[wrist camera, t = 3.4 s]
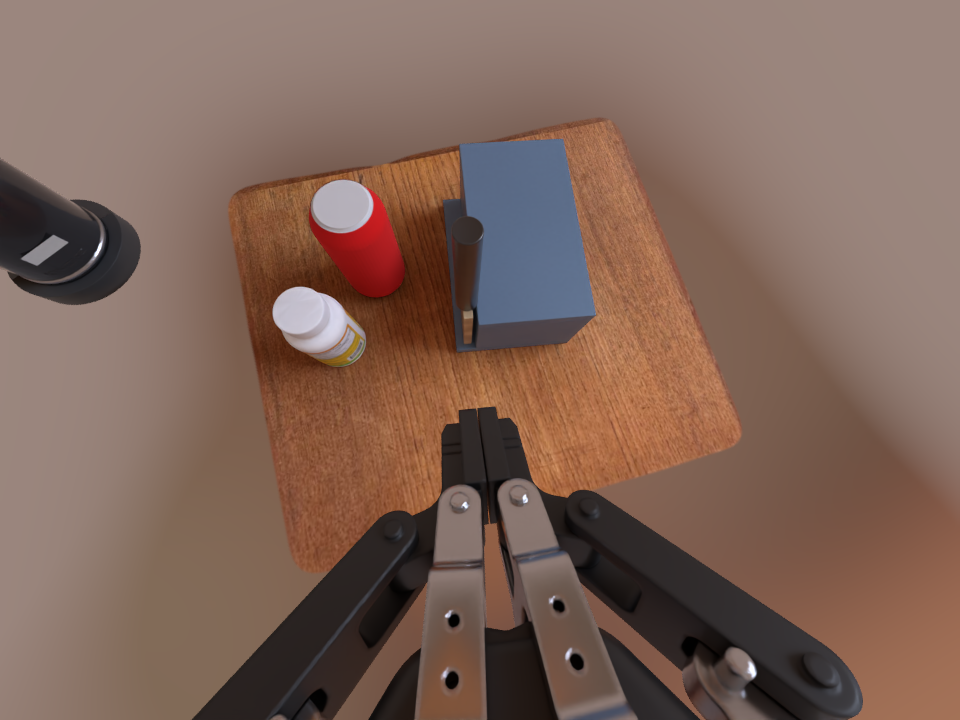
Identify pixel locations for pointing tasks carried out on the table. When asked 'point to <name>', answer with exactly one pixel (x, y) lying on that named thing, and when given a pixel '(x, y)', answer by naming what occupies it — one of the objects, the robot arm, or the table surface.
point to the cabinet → (522, 245)
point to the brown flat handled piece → (467, 268)
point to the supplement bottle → (319, 326)
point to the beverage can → (357, 236)
